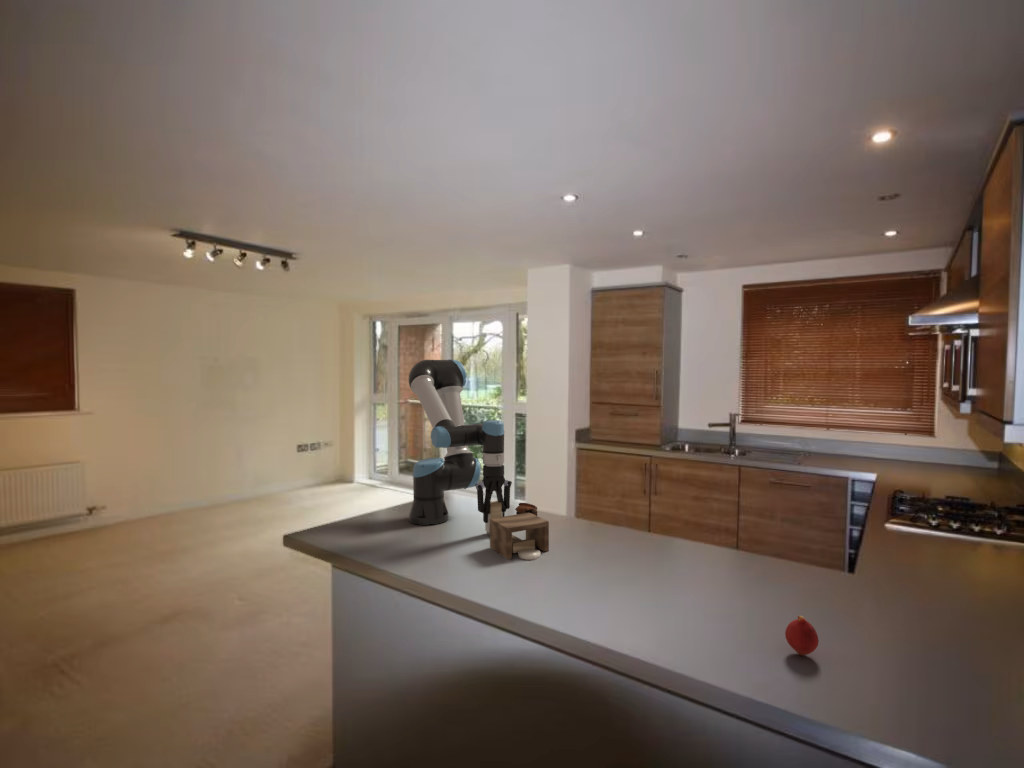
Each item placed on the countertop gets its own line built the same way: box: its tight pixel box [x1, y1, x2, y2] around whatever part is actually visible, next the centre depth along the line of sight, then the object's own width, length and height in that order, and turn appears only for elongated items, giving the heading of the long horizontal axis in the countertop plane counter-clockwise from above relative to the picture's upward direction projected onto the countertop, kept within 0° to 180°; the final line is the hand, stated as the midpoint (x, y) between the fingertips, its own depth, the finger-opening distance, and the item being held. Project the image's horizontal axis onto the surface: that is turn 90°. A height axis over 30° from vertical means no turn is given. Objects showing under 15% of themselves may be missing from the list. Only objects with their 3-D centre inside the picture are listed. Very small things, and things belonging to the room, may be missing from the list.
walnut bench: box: [489, 513, 550, 560], centre depth 167 cm, size 12×15×10 cm
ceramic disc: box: [517, 548, 541, 561], centre depth 161 cm, size 7×7×1 cm
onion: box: [784, 615, 820, 656], centre depth 105 cm, size 6×6×8 cm
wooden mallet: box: [486, 500, 536, 554], centre depth 175 cm, size 23×8×11 cm, turn 29°
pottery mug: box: [514, 502, 538, 516], centre depth 198 cm, size 12×10×8 cm
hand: (494, 530), depth 183 cm, fingers closed on wooden mallet, 4 cm apart
